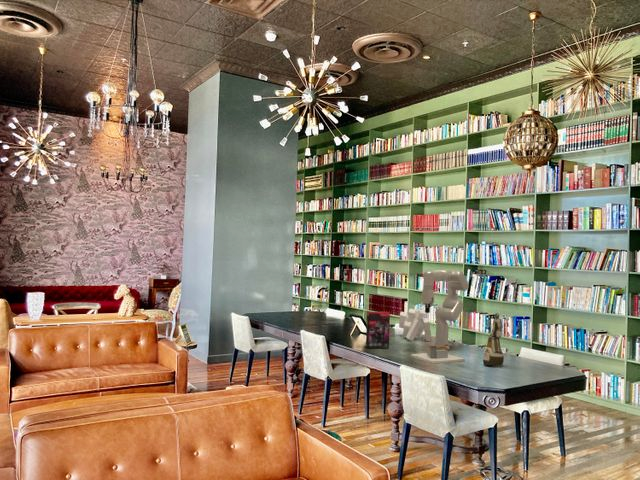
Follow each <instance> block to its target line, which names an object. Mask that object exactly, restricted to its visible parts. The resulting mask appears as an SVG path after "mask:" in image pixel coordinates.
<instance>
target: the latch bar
mask: <svg viewBox="0 0 640 480" xmlns="http://www.w3.org/2000/svg"><path fill="white" fill-rule="evenodd" d="M449 347H450V346H448V344H445V346H436V349H448V348H449ZM427 348H428V349H430V350H431V347H428V346H427Z"/></svg>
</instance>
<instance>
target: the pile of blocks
mask: <svg viewBox="0 0 640 480" xmlns="http://www.w3.org/2000/svg"><path fill="white" fill-rule="evenodd" d="M427 314H428V313H425V309H419V308H416V309H414V308H409V310H408V312H404V311H400V313H399V321H398V327H399V328H400V329H403V332H402V335H404V336H405V338H406V339H408V340H409V341H412V342H413V341H414V340H415V338H417V337H418V338H421V335H422V334H423V332H424V336H425V340H426V342H429V341H430V342H431V341H432V340H433V339H432V331H431V326H430V321H429V319H428V318H427Z"/></svg>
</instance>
